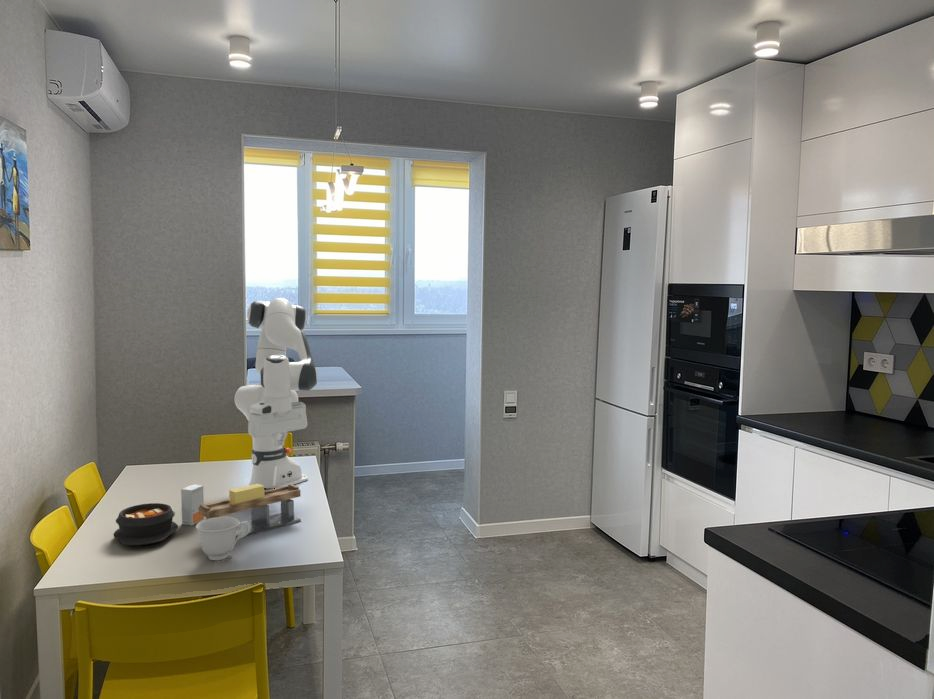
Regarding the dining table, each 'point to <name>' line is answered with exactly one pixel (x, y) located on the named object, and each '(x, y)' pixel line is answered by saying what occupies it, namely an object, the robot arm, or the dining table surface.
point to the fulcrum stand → (269, 518)
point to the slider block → (246, 493)
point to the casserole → (145, 524)
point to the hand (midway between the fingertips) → (279, 445)
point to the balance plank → (249, 502)
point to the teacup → (219, 535)
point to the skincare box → (192, 504)
